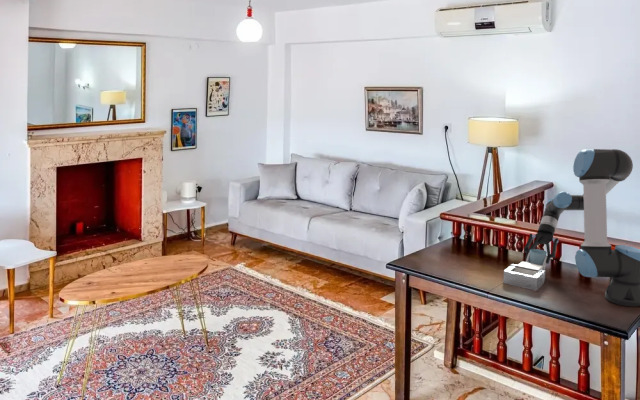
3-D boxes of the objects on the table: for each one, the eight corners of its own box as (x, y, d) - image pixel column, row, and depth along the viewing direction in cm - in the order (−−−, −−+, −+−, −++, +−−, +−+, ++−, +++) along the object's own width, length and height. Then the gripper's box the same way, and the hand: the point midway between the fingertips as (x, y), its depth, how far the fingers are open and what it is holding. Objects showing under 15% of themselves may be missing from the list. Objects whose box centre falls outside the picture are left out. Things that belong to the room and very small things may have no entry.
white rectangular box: (511, 275, 266) (512, 263, 265) (544, 282, 257) (545, 270, 256) (503, 283, 257) (503, 270, 255) (536, 290, 248) (537, 277, 246)
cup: (548, 273, 269) (550, 252, 267) (536, 275, 266) (538, 254, 264) (536, 268, 276) (538, 248, 274) (524, 270, 273) (526, 250, 271)
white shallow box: (516, 270, 270) (517, 259, 269) (547, 276, 261) (548, 265, 260) (509, 276, 262) (510, 265, 260) (540, 283, 253) (541, 271, 252)
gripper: (569, 234, 273) (557, 274, 264) (528, 227, 285) (515, 266, 276) (568, 226, 268) (555, 267, 259) (525, 219, 280) (512, 258, 271)
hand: (534, 266), depth 268 cm, fingers closed on cup, 7 cm apart
